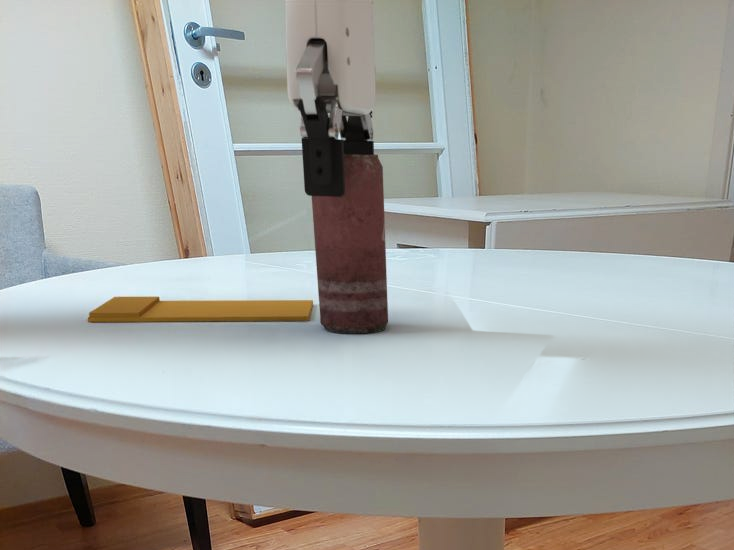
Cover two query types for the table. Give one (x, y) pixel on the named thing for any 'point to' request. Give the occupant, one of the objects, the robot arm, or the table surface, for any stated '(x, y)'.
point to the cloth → (199, 310)
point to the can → (352, 250)
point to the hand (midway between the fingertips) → (341, 193)
